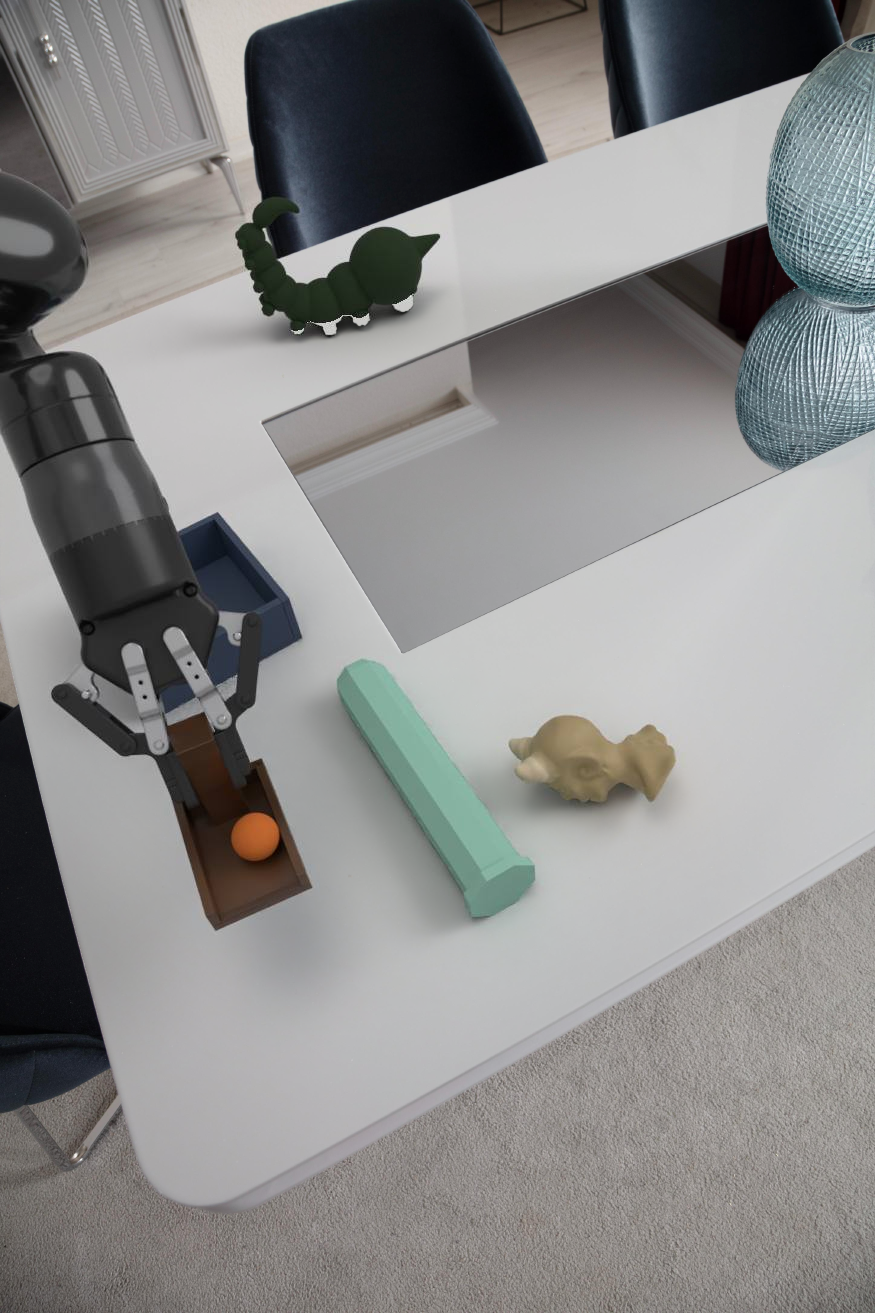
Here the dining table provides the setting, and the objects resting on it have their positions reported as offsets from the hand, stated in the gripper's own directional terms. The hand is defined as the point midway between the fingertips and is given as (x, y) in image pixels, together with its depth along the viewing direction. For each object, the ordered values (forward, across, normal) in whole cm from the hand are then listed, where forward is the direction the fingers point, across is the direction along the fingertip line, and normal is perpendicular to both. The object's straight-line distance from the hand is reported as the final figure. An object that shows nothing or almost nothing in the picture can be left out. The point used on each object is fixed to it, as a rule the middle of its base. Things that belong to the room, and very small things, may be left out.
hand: (218, 794), depth 57 cm
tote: (-11, +1, +35) cm, 37 cm away
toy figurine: (-42, +35, +67) cm, 87 cm away
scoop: (+4, 0, +3) cm, 5 cm away
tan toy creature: (+13, +27, +12) cm, 32 cm away
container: (+9, +14, +16) cm, 23 cm away
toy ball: (+3, +1, 0) cm, 4 cm away
